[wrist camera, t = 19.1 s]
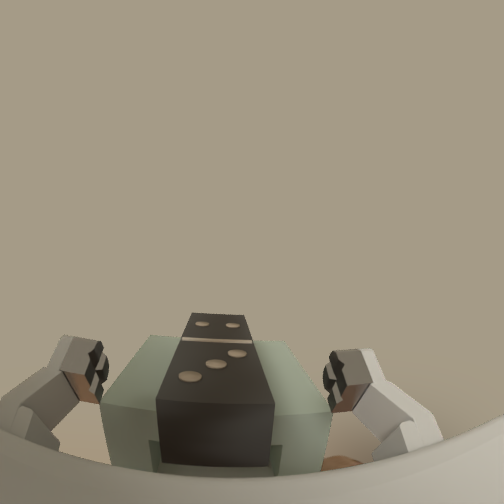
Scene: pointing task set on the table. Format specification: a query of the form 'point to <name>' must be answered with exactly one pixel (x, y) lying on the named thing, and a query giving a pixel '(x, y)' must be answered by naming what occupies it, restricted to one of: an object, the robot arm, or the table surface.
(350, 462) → the table surface
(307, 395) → the slot stand
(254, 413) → the domino bar
